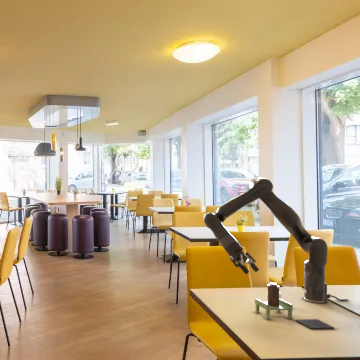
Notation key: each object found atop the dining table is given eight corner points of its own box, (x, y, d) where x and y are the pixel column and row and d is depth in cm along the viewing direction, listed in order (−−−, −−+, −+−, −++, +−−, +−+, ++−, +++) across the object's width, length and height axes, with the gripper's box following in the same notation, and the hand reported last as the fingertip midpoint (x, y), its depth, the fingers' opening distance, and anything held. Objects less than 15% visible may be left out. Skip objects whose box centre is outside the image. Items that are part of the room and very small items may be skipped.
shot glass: (283, 308, 191) (283, 294, 191) (268, 307, 192) (268, 293, 192) (279, 304, 197) (279, 290, 197) (264, 303, 199) (264, 289, 199)
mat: (317, 320, 174) (317, 319, 174) (334, 329, 164) (334, 327, 164) (295, 320, 173) (295, 319, 173) (311, 329, 163) (311, 327, 163)
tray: (279, 311, 185) (279, 298, 185) (292, 319, 175) (292, 304, 176) (254, 312, 185) (254, 298, 185) (267, 319, 175) (267, 305, 175)
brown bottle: (275, 303, 183) (275, 282, 183) (281, 306, 178) (281, 284, 178) (265, 303, 182) (265, 282, 183) (271, 306, 178) (271, 284, 178)
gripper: (227, 241, 192) (249, 269, 182) (243, 239, 200) (265, 265, 190) (217, 251, 196) (239, 278, 187) (234, 248, 204) (255, 274, 195)
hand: (252, 272), depth 189 cm, fingers open, 8 cm apart
